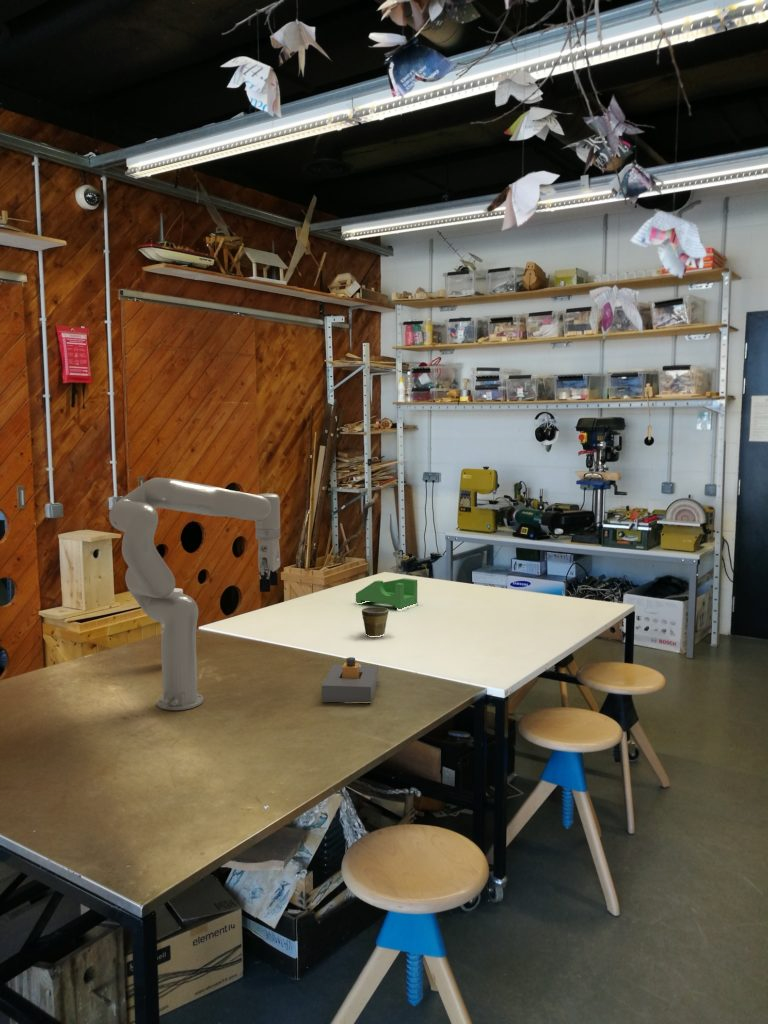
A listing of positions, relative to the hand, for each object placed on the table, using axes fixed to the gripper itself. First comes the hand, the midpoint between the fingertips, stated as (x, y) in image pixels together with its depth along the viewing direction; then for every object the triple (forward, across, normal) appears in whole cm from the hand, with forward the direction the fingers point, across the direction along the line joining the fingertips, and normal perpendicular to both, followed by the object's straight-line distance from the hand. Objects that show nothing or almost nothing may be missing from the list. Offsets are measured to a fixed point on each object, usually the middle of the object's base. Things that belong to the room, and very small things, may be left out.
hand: (268, 588), depth 237 cm
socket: (+28, -11, -27) cm, 41 cm away
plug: (+27, -11, -27) cm, 40 cm away
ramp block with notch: (+29, +103, -27) cm, 110 cm away
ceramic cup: (+28, +53, -27) cm, 66 cm away
